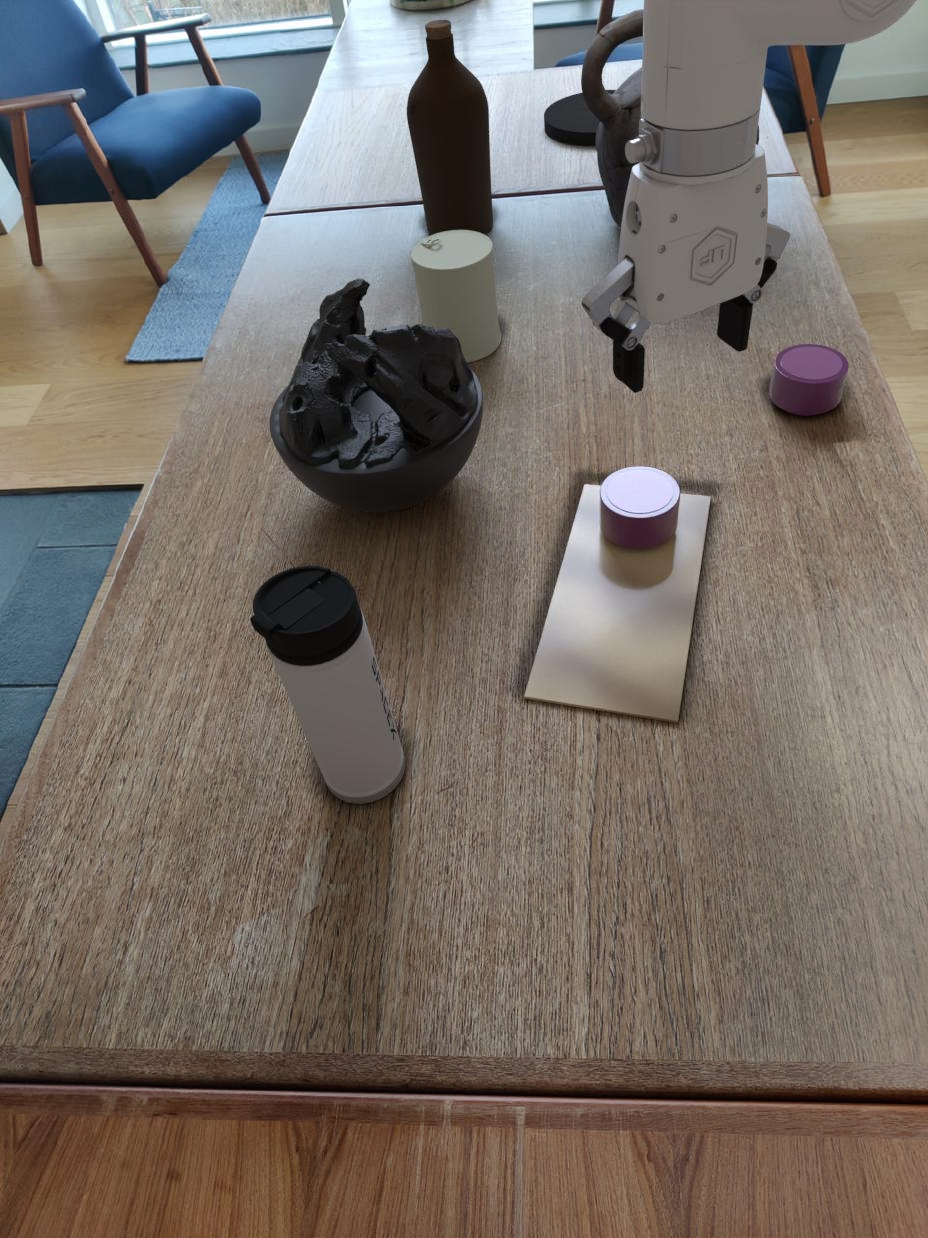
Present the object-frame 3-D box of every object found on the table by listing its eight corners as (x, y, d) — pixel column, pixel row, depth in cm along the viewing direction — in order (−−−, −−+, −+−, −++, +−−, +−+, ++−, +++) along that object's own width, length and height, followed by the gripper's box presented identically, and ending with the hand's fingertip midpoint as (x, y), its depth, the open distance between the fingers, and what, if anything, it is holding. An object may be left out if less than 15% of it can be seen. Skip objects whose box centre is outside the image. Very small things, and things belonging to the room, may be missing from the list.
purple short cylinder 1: (667, 498, 83) (670, 460, 80) (685, 550, 79) (689, 512, 75) (593, 508, 84) (593, 470, 80) (606, 560, 79) (607, 522, 76)
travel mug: (305, 777, 68) (224, 602, 53) (367, 721, 71) (307, 540, 56) (359, 824, 65) (290, 652, 50) (422, 763, 67) (374, 584, 52)
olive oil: (477, 249, 121) (456, 39, 102) (410, 240, 125) (378, 36, 106) (509, 214, 127) (496, 9, 108) (444, 206, 130) (420, 8, 112)
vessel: (672, 287, 109) (694, -1, 86) (542, 239, 120) (532, -25, 98) (787, 212, 118) (833, -65, 96) (657, 174, 130) (671, -81, 108)
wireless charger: (536, 112, 151) (535, 99, 149) (639, 96, 151) (640, 83, 149) (554, 152, 139) (554, 139, 137) (666, 135, 139) (667, 121, 137)
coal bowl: (449, 573, 80) (420, 399, 66) (260, 537, 86) (196, 370, 72) (517, 440, 92) (504, 268, 78) (346, 415, 98) (306, 252, 84)
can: (454, 314, 110) (442, 218, 101) (516, 332, 106) (509, 233, 97) (409, 352, 106) (392, 255, 97) (471, 371, 101) (460, 272, 92)
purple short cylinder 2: (825, 377, 94) (834, 338, 90) (849, 416, 89) (859, 377, 86) (759, 386, 94) (765, 348, 90) (780, 425, 89) (787, 387, 86)
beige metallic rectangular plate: (584, 486, 86) (584, 483, 86) (710, 498, 83) (711, 496, 83) (524, 698, 70) (523, 696, 70) (677, 723, 67) (678, 721, 67)
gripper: (614, 196, 54) (612, 424, 67) (843, 118, 58) (800, 349, 71) (554, 157, 59) (563, 377, 72) (770, 87, 63) (741, 309, 75)
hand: (680, 363), depth 71 cm, fingers open, 9 cm apart
